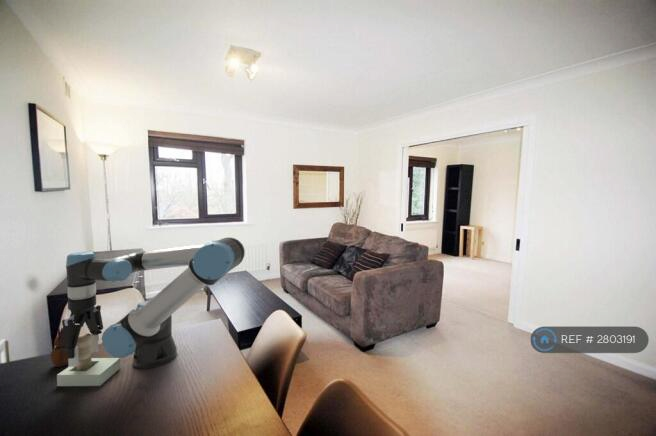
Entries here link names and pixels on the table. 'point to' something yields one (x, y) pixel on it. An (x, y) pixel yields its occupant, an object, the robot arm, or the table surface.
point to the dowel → (84, 352)
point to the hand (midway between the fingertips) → (84, 358)
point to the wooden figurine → (59, 352)
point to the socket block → (89, 373)
